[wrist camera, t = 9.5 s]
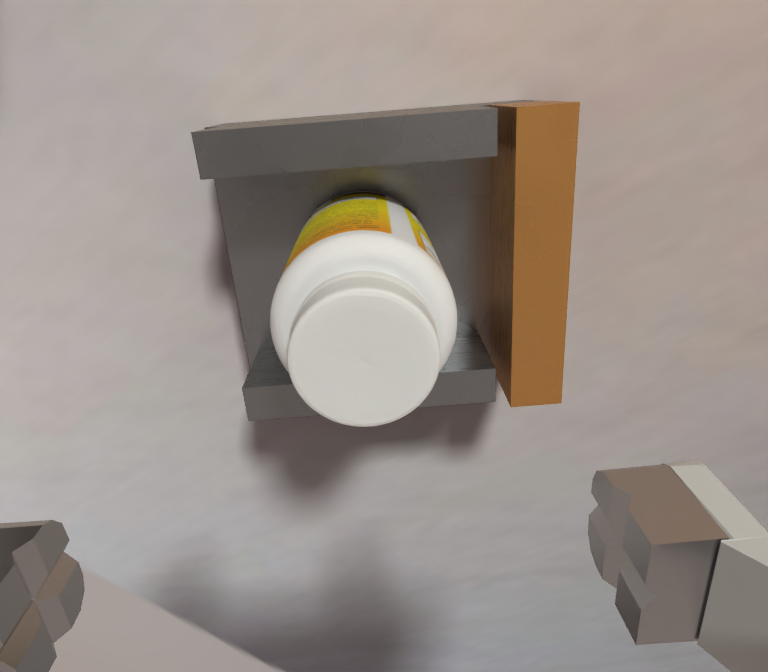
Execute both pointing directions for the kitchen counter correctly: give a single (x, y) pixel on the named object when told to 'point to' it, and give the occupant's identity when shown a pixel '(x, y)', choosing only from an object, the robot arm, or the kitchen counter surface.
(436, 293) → the supplement bottle
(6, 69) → the kitchen counter surface
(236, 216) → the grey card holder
